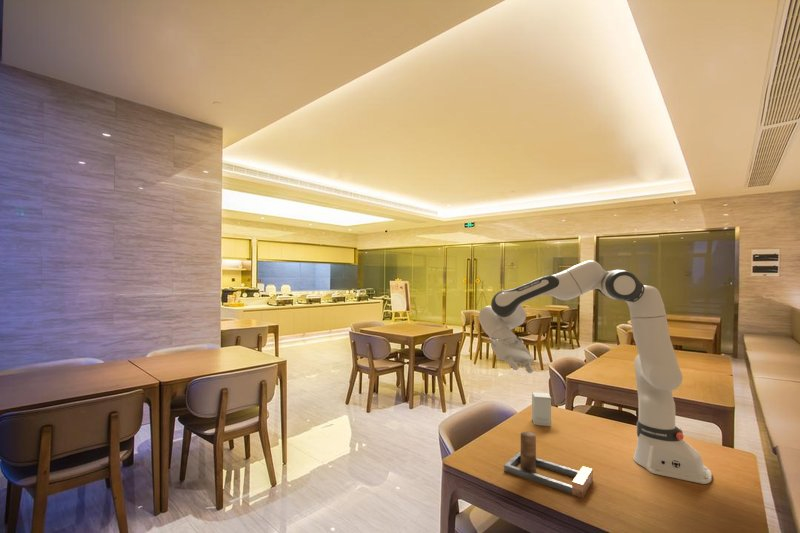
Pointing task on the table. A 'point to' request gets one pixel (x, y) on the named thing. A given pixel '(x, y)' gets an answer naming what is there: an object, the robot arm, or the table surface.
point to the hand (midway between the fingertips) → (523, 370)
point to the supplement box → (541, 409)
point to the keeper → (528, 451)
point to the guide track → (578, 484)
